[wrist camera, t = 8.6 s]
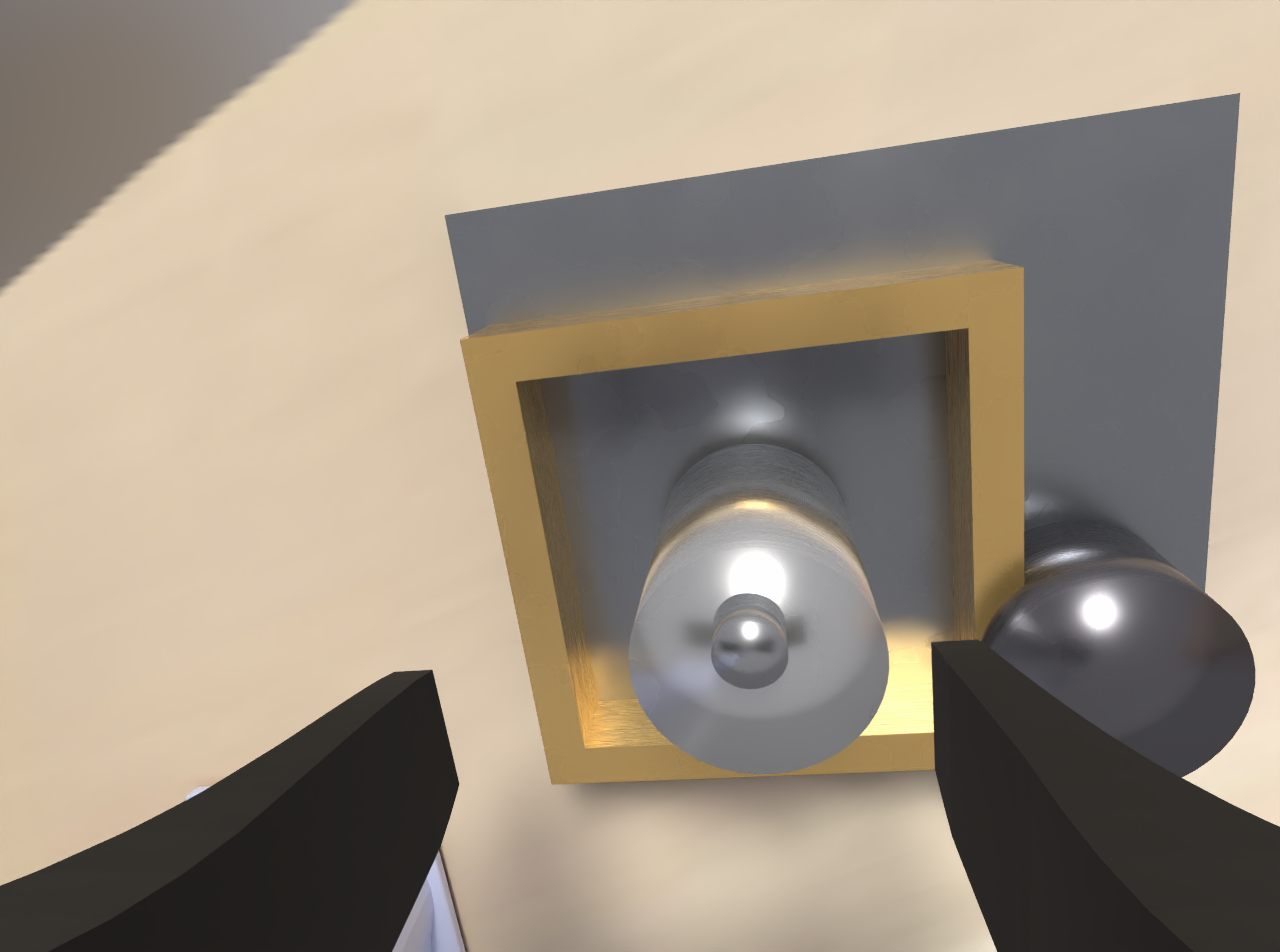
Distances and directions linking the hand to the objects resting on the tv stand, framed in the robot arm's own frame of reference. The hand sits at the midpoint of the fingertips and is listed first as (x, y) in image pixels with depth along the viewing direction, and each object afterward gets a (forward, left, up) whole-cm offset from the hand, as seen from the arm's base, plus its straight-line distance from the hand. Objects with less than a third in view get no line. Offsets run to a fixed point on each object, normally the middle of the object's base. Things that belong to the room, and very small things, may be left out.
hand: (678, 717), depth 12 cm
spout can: (-1, -1, -8) cm, 8 cm away
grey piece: (0, -3, -10) cm, 11 cm away
